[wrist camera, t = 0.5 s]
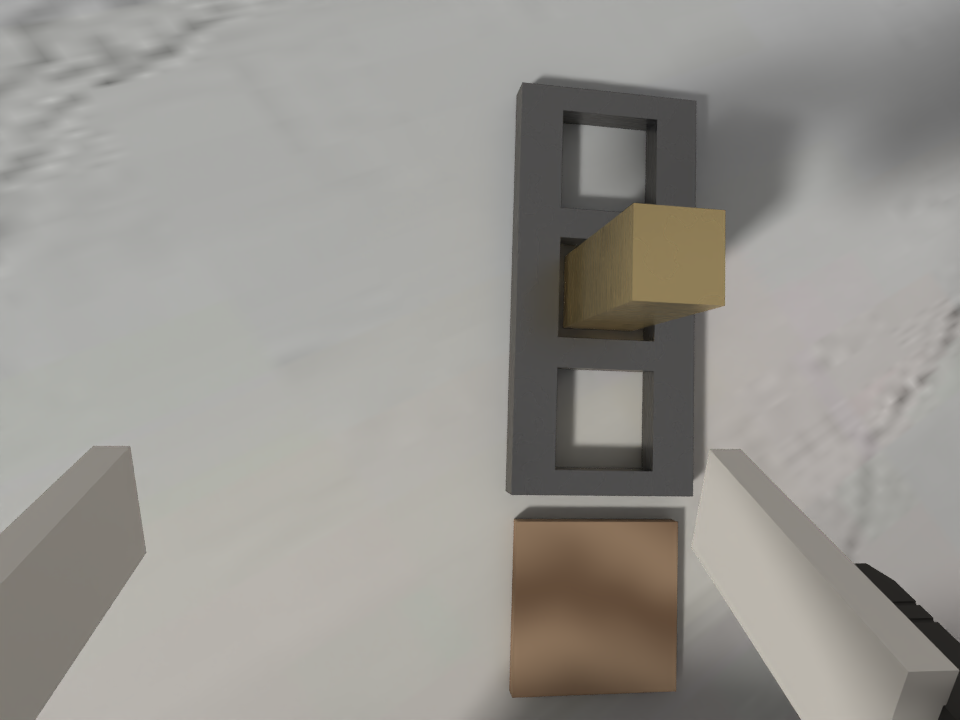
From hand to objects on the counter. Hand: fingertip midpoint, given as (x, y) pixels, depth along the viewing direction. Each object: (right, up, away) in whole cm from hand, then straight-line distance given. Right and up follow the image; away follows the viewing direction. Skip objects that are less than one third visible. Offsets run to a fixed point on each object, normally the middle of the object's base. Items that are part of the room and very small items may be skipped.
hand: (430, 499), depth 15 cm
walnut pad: (+7, -10, +20) cm, 24 cm away
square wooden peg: (+8, +7, +21) cm, 24 cm away
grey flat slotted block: (+8, +7, +21) cm, 24 cm away
